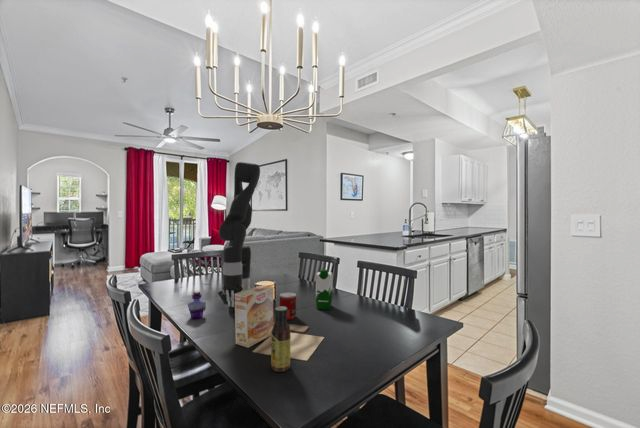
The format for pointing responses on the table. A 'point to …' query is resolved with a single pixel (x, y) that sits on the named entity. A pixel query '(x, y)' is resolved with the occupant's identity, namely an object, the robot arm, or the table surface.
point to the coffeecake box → (253, 315)
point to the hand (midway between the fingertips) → (232, 315)
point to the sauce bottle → (280, 341)
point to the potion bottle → (196, 306)
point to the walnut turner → (298, 328)
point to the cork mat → (295, 346)
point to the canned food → (289, 304)
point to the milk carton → (324, 289)
